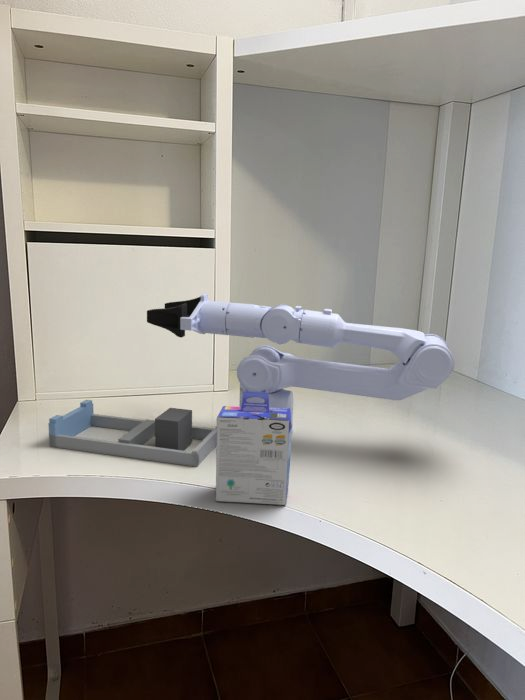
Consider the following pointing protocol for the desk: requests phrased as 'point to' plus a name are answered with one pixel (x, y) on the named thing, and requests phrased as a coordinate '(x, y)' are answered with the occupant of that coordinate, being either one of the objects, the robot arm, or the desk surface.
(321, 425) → the desk surface
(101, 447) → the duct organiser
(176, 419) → the dark grey block
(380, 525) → the desk surface
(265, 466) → the ink cartridge box
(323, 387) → the robot arm
